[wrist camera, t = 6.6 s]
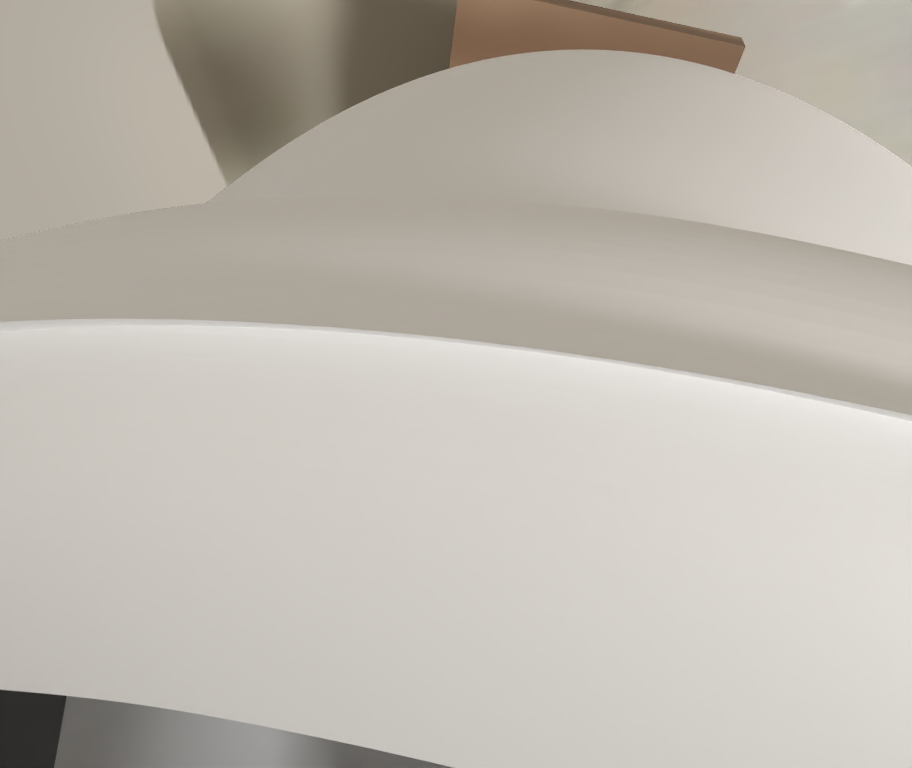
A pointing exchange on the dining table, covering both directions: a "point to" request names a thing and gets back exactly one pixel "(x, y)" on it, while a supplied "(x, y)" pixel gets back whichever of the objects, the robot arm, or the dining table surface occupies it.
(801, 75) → the dining table surface
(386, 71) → the dining table surface
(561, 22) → the beam
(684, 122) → the jar
